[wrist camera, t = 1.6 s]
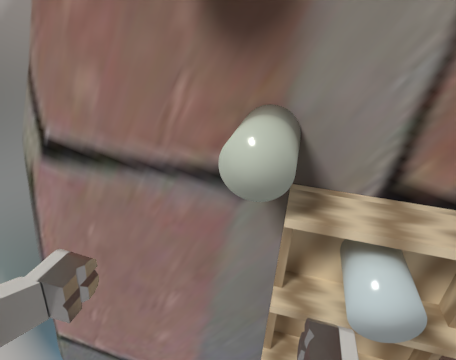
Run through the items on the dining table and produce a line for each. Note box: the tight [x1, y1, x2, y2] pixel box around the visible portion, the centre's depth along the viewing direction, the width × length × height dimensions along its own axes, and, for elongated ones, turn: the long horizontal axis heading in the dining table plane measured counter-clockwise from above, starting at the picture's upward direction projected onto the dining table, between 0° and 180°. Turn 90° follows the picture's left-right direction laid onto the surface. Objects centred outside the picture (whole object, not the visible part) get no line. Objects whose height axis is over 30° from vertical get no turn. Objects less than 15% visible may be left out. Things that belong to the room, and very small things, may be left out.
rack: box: [261, 184, 456, 360], centre depth 35 cm, size 20×25×7 cm
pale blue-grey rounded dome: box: [340, 239, 427, 343], centre depth 30 cm, size 6×6×9 cm
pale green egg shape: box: [219, 104, 301, 202], centre depth 28 cm, size 6×6×9 cm
